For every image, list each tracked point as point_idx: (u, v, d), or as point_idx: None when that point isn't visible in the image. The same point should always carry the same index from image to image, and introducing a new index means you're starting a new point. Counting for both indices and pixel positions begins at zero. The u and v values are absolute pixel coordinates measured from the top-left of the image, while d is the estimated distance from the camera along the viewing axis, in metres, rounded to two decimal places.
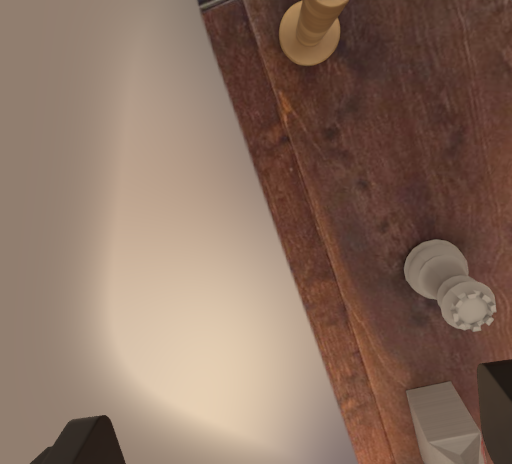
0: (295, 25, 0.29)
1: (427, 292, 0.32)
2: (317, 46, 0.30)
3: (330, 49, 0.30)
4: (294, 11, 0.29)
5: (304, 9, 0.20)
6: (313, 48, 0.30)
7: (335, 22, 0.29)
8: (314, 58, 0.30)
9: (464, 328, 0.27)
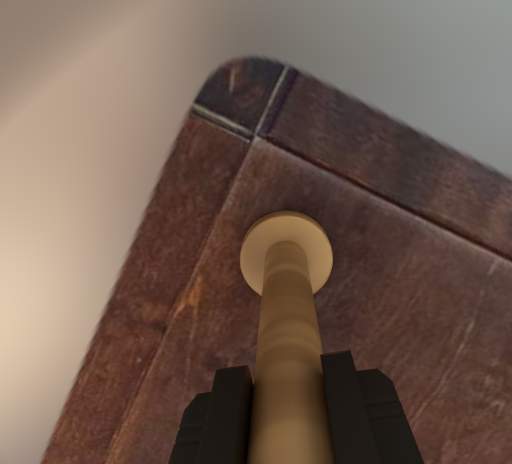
0: (278, 239, 0.19)
1: None
2: None
3: None
4: (290, 224, 0.19)
5: (252, 415, 0.10)
6: None
7: (322, 277, 0.20)
8: None
9: None
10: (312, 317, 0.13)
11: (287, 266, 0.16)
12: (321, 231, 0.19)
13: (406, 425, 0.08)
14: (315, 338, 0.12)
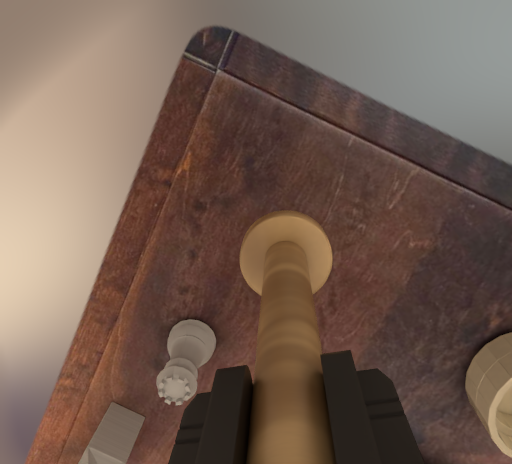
0: (277, 239, 0.19)
1: (170, 353, 0.40)
2: None
3: None
4: (290, 224, 0.19)
5: (252, 414, 0.10)
6: None
7: (322, 277, 0.20)
8: None
9: (160, 396, 0.35)
10: (312, 317, 0.13)
11: (287, 266, 0.16)
12: (321, 231, 0.19)
13: (406, 425, 0.08)
14: (315, 338, 0.12)
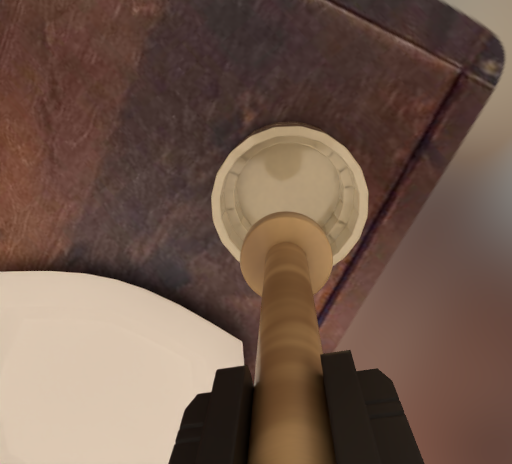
0: (278, 240, 0.19)
1: None
2: None
3: None
4: (291, 225, 0.19)
5: (253, 417, 0.10)
6: None
7: (322, 278, 0.20)
8: None
9: None
10: (312, 318, 0.13)
11: (287, 267, 0.16)
12: (321, 232, 0.19)
13: (406, 425, 0.08)
14: (315, 340, 0.12)
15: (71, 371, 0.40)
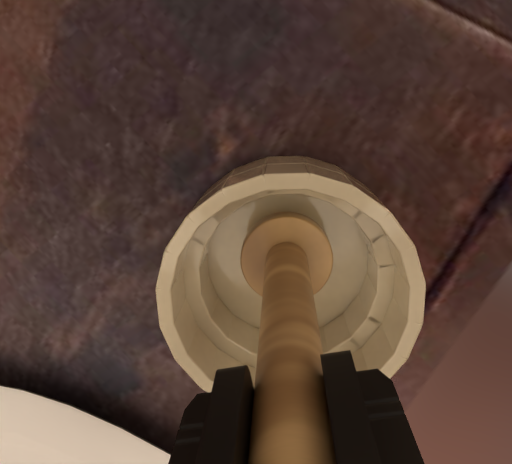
0: (278, 240, 0.19)
1: None
2: None
3: None
4: (291, 225, 0.19)
5: (253, 416, 0.10)
6: None
7: (322, 278, 0.20)
8: None
9: None
10: (313, 318, 0.13)
11: (288, 268, 0.16)
12: (321, 232, 0.19)
13: (406, 425, 0.08)
14: (316, 340, 0.12)
15: None
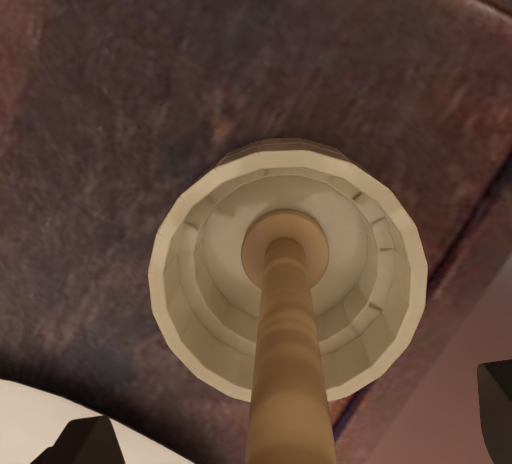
0: (277, 236, 0.20)
1: None
2: None
3: None
4: (289, 222, 0.20)
5: (253, 390, 0.11)
6: None
7: (319, 272, 0.21)
8: None
9: None
10: (308, 306, 0.14)
11: (286, 260, 0.17)
12: (318, 228, 0.20)
13: None
14: (311, 324, 0.13)
15: None
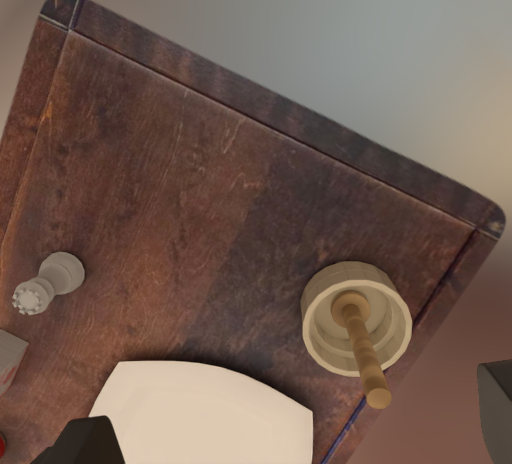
0: (348, 303, 0.46)
1: None
2: None
3: None
4: (353, 297, 0.46)
5: (359, 365, 0.37)
6: None
7: (366, 318, 0.47)
8: (341, 323, 0.47)
9: (15, 306, 0.41)
10: (369, 338, 0.40)
11: (356, 317, 0.43)
12: (366, 299, 0.46)
13: None
14: (372, 345, 0.39)
15: (180, 429, 0.53)
